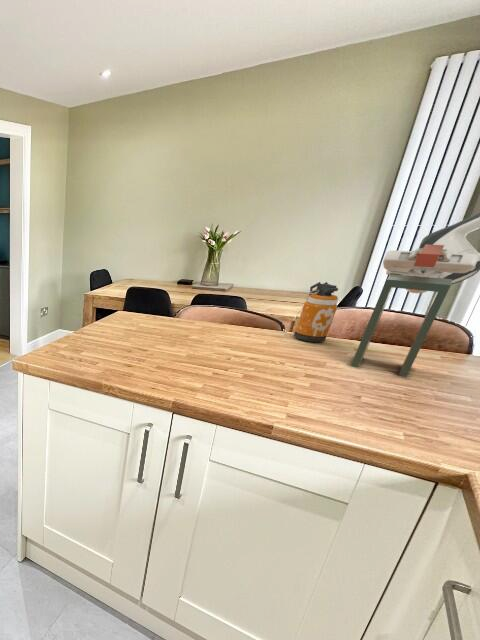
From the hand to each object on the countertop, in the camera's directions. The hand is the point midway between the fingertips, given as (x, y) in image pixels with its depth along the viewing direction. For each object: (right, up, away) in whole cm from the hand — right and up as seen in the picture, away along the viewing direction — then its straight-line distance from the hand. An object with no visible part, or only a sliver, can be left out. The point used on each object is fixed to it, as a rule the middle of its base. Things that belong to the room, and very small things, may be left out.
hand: (431, 251), depth 123 cm
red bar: (-5, -4, -3) cm, 7 cm away
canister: (-20, -25, +22) cm, 39 cm away
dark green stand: (-18, -36, -2) cm, 40 cm away
